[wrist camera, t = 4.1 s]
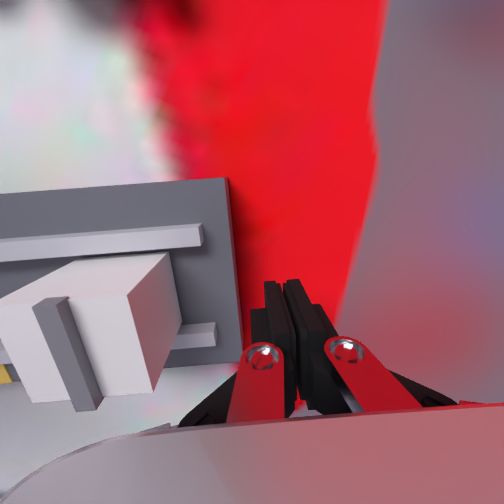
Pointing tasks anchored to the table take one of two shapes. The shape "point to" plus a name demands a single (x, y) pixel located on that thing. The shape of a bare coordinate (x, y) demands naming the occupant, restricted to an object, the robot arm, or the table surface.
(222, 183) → the grey slider rail base
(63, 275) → the fader tab
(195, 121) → the table surface
